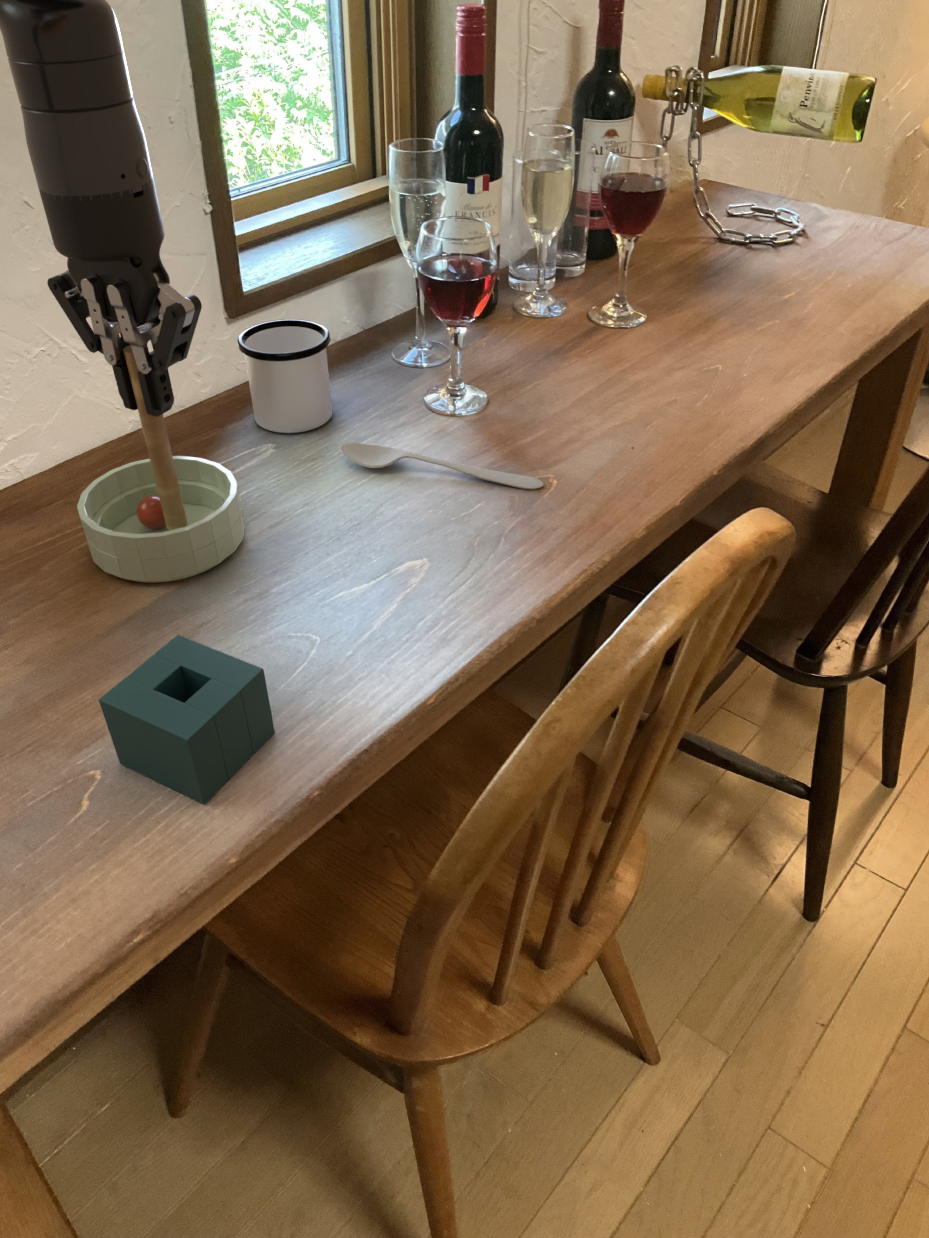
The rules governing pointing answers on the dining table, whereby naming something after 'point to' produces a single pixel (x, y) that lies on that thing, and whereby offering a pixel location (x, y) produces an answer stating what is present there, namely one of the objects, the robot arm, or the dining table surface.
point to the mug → (288, 374)
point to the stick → (158, 453)
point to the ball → (151, 512)
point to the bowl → (163, 551)
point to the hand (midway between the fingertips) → (149, 408)
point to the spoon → (387, 456)
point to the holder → (189, 717)
